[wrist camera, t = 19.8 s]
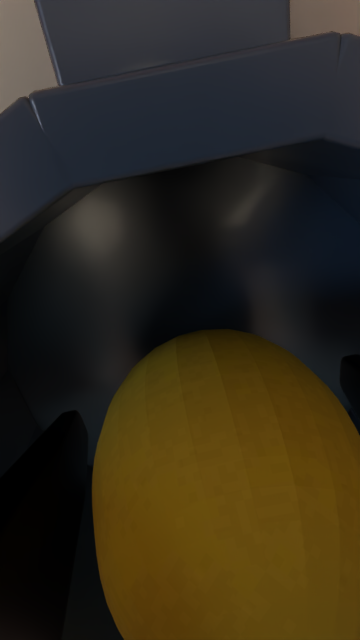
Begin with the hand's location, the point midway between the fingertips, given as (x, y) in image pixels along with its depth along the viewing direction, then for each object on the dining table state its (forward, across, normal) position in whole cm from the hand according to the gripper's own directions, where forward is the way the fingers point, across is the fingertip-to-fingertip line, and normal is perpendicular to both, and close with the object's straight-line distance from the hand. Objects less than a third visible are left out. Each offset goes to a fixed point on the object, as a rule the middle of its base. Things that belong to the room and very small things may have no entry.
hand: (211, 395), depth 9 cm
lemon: (+2, 0, 0) cm, 2 cm away
